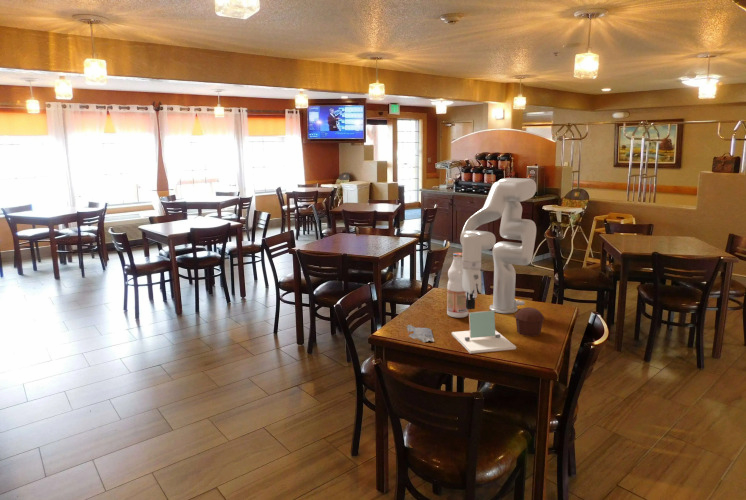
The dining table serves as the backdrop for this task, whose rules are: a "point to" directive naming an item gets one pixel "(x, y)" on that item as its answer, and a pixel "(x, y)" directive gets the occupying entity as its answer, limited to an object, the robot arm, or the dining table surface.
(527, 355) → the dining table surface
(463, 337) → the board
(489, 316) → the tile
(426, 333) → the stone slab
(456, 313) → the fruit juice
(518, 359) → the dining table surface
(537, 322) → the muffin
